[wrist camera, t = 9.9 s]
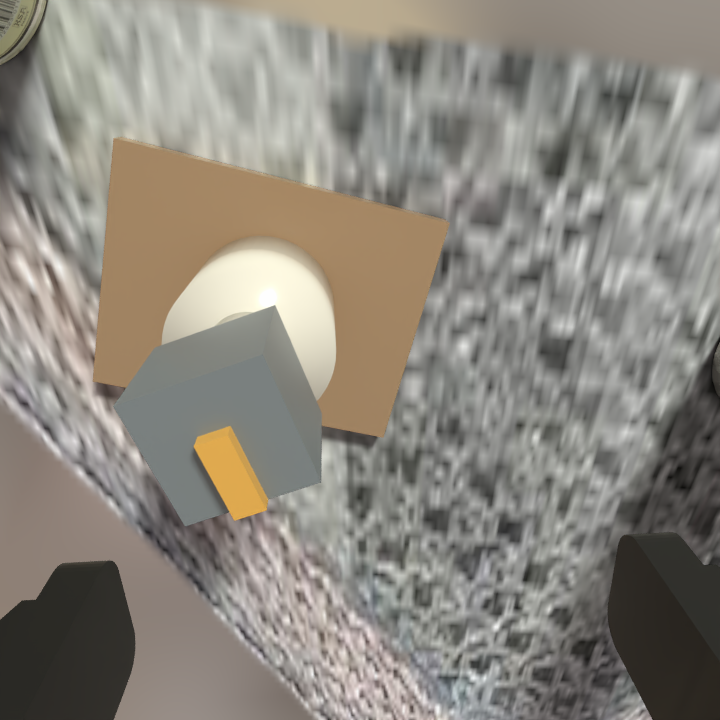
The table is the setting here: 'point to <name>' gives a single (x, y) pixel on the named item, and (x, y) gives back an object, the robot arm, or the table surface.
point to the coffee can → (18, 25)
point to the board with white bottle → (263, 273)
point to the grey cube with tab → (226, 418)
